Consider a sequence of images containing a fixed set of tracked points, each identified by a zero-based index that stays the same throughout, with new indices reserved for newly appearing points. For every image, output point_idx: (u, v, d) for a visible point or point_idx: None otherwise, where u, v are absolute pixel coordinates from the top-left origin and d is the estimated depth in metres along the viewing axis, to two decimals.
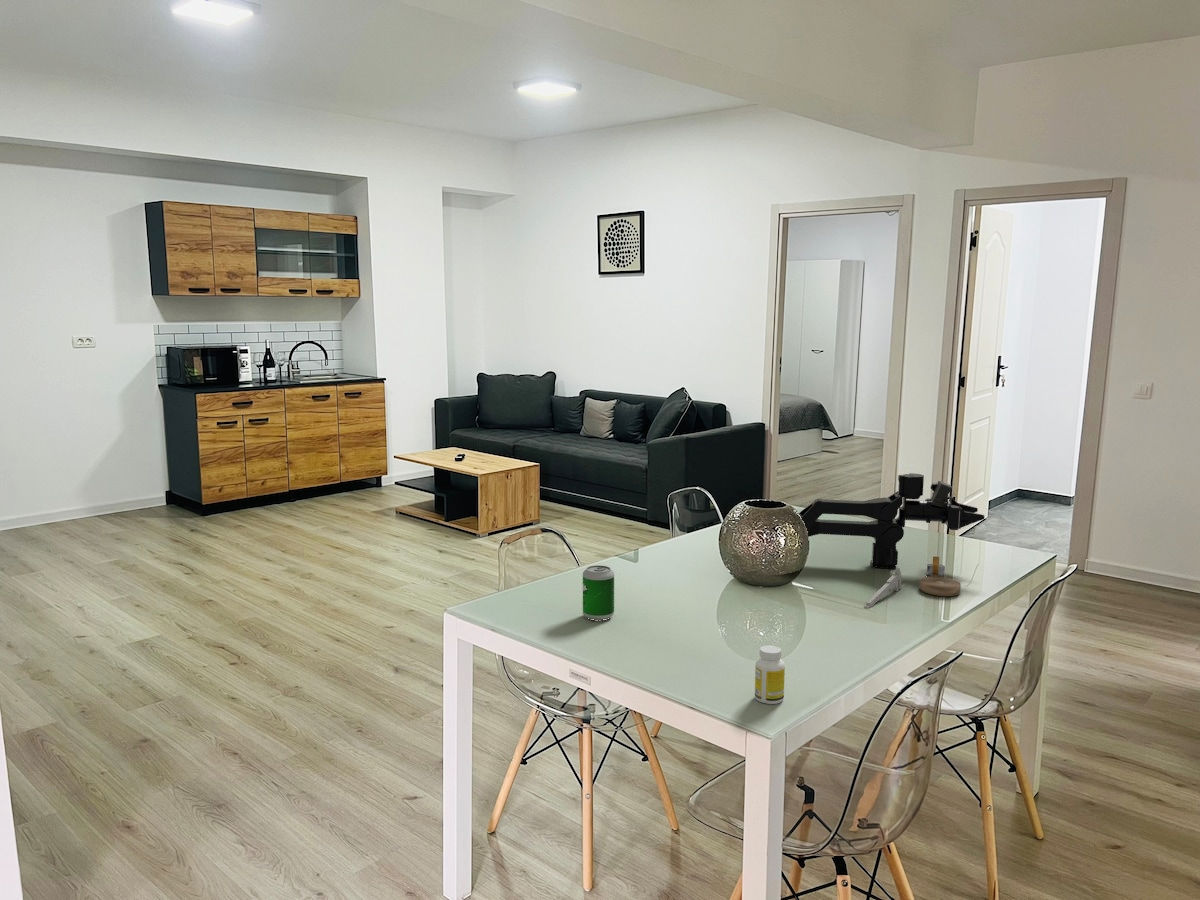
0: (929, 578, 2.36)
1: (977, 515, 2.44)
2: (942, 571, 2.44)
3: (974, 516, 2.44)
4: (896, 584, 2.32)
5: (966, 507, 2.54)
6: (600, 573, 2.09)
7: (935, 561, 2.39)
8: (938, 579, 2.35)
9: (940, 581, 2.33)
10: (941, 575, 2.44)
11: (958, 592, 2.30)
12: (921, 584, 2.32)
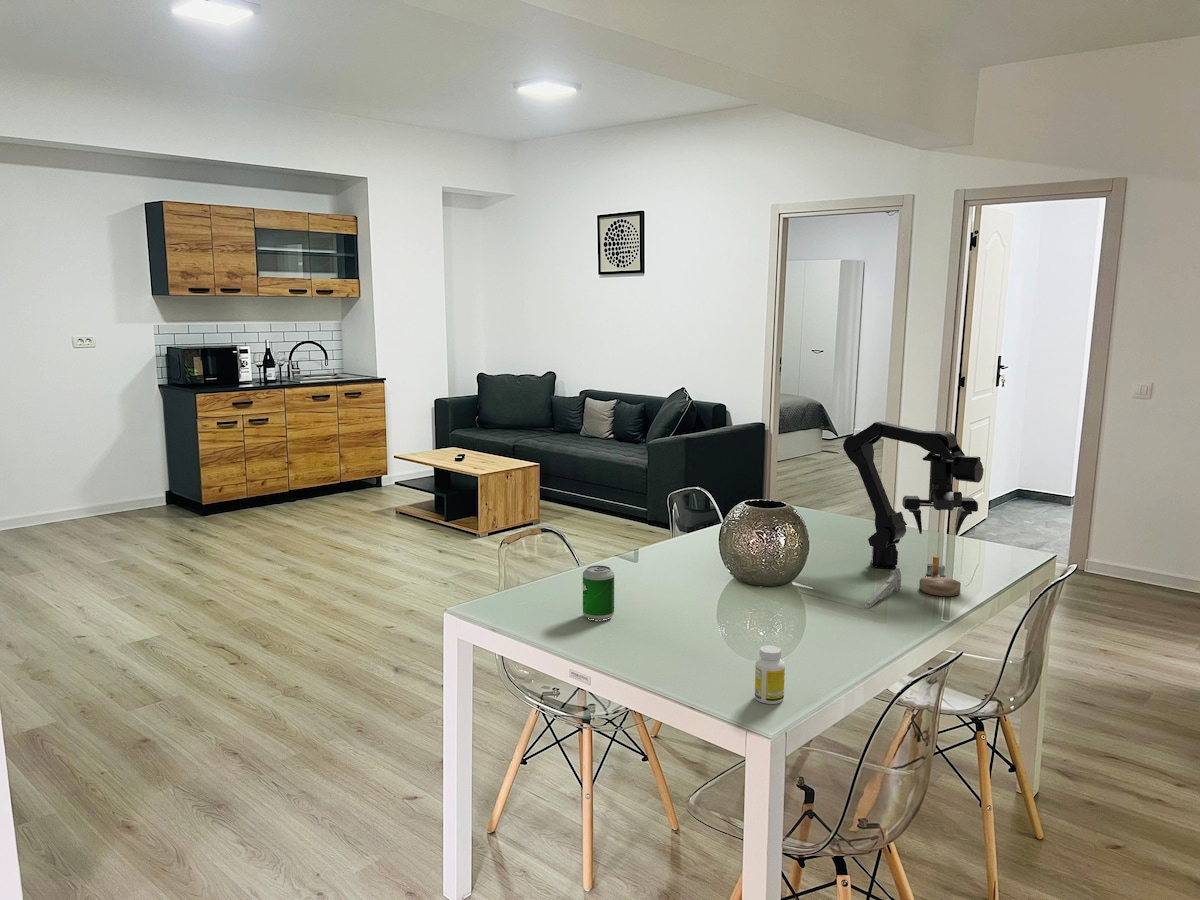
0: (929, 578, 2.36)
1: (918, 527, 2.45)
2: (942, 571, 2.44)
3: (917, 524, 2.45)
4: (896, 584, 2.32)
5: (956, 524, 2.42)
6: (600, 573, 2.09)
7: (935, 561, 2.39)
8: (938, 579, 2.35)
9: (940, 581, 2.33)
10: (941, 575, 2.44)
11: (958, 592, 2.30)
12: (921, 584, 2.32)
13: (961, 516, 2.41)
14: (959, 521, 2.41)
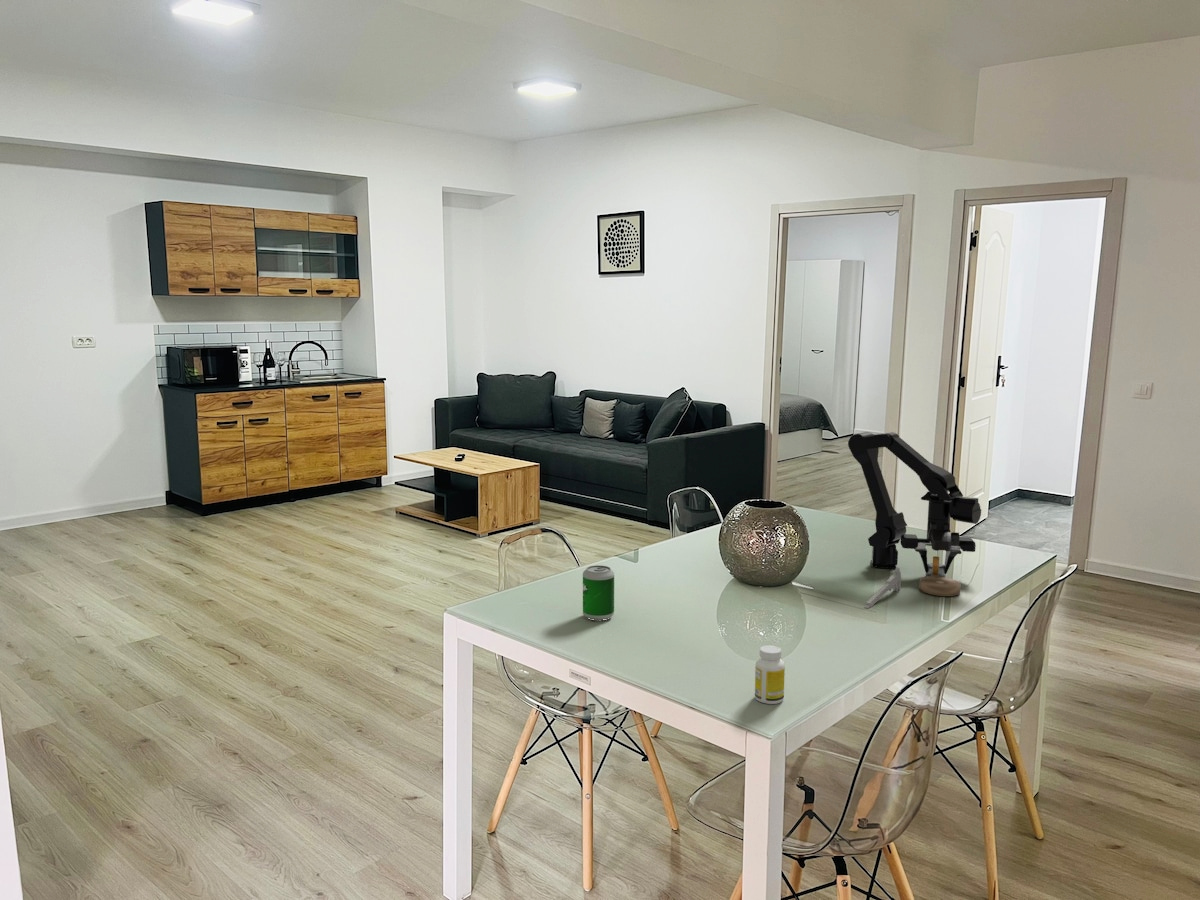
0: (929, 578, 2.36)
1: (924, 566, 2.46)
2: (942, 571, 2.44)
3: (923, 563, 2.46)
4: (896, 584, 2.32)
5: (946, 563, 2.44)
6: (600, 573, 2.09)
7: (935, 561, 2.39)
8: (938, 579, 2.35)
9: (940, 581, 2.33)
10: (941, 575, 2.44)
11: (958, 592, 2.30)
12: (921, 584, 2.32)
13: (950, 555, 2.43)
14: (948, 560, 2.43)
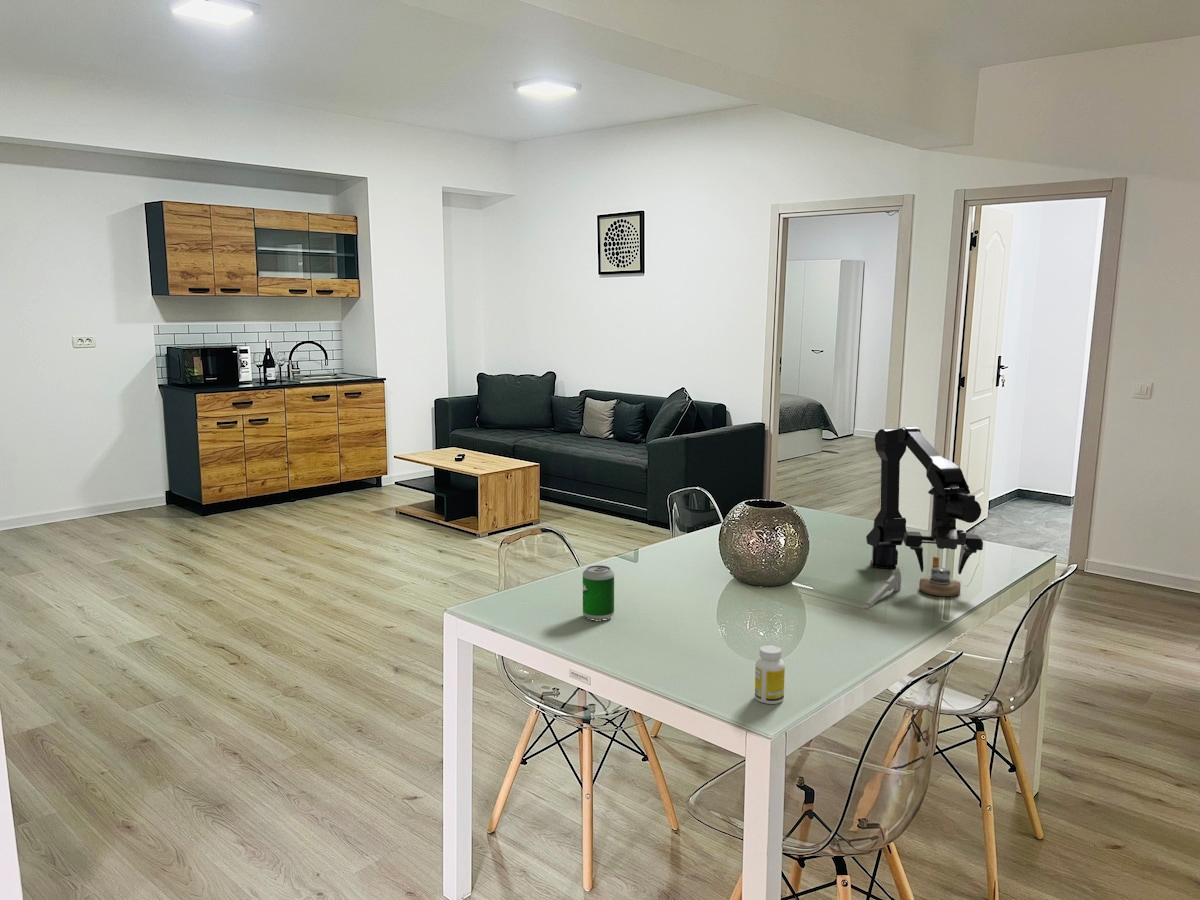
0: (929, 578, 2.36)
1: (919, 564, 2.33)
2: (947, 575, 2.31)
3: (918, 561, 2.33)
4: (896, 584, 2.32)
5: (960, 563, 2.31)
6: (600, 573, 2.09)
7: (935, 561, 2.39)
8: None
9: None
10: (946, 580, 2.31)
11: (958, 592, 2.30)
12: (921, 584, 2.32)
13: (965, 554, 2.29)
14: (963, 559, 2.30)
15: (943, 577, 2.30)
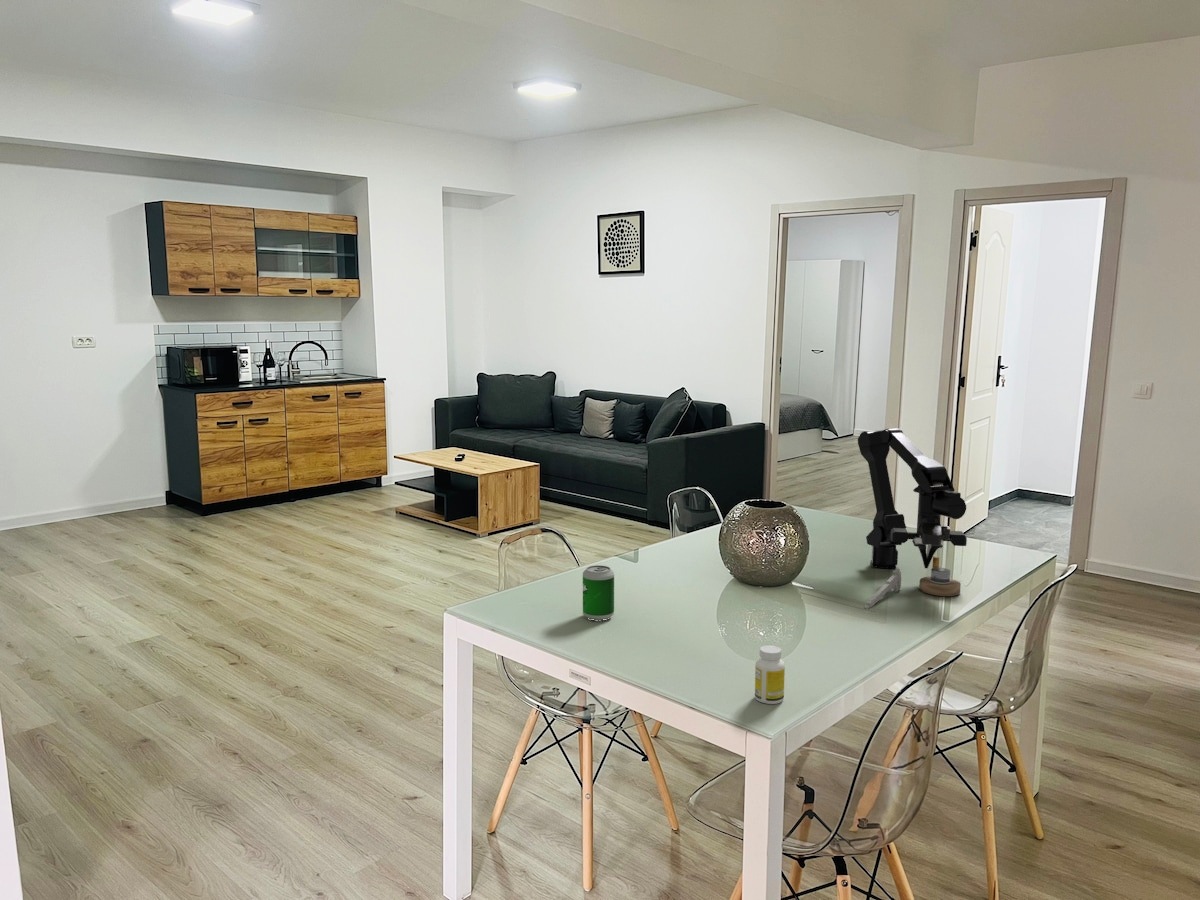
0: (929, 578, 2.36)
1: (923, 561, 2.40)
2: (947, 575, 2.31)
3: (922, 558, 2.40)
4: (896, 584, 2.32)
5: (927, 557, 2.39)
6: (600, 573, 2.09)
7: (935, 561, 2.39)
8: None
9: None
10: (946, 580, 2.31)
11: (958, 592, 2.30)
12: (921, 584, 2.32)
13: (931, 549, 2.37)
14: (929, 554, 2.38)
15: (943, 577, 2.30)
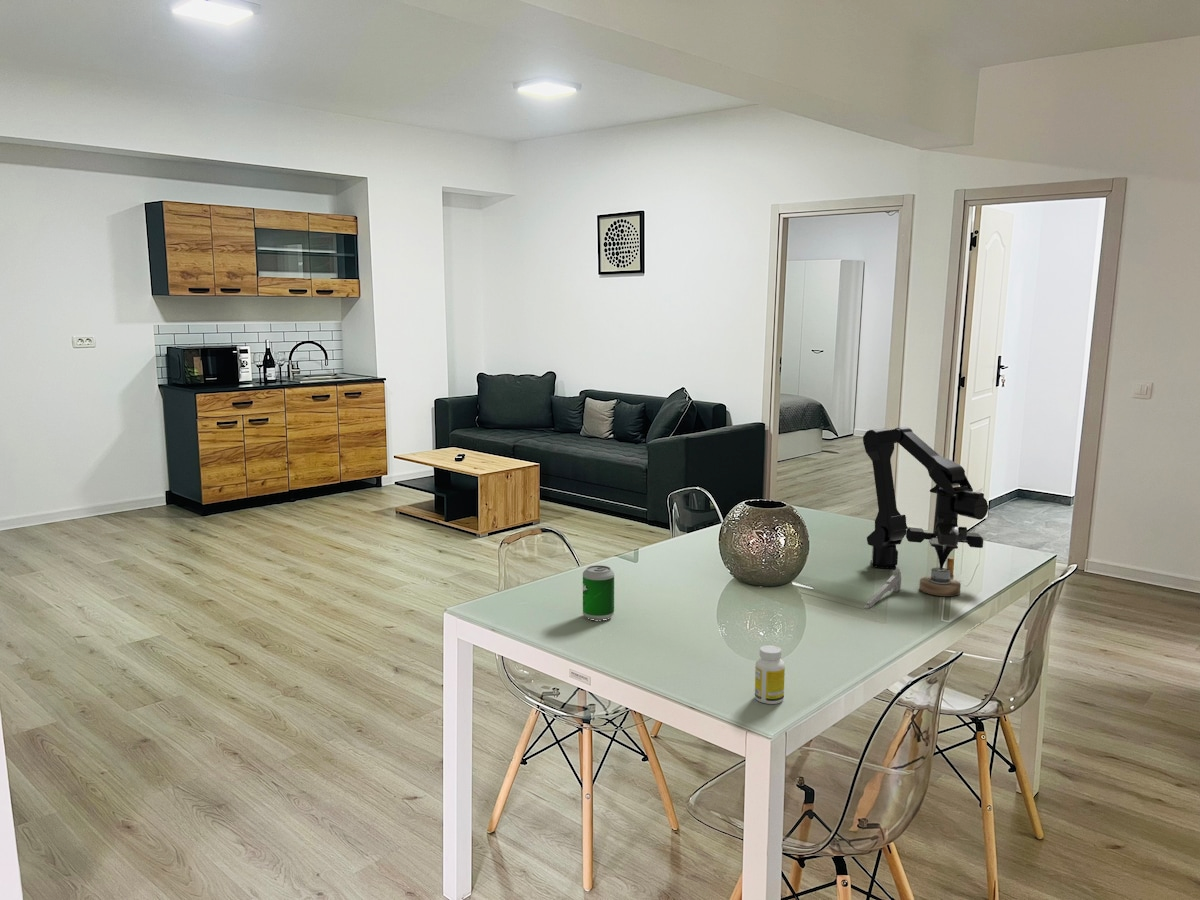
0: None
1: (939, 562, 2.38)
2: (944, 576, 2.30)
3: (938, 558, 2.39)
4: (896, 584, 2.32)
5: None
6: (600, 573, 2.09)
7: (948, 562, 2.38)
8: None
9: None
10: (942, 580, 2.30)
11: (952, 593, 2.28)
12: None
13: (946, 550, 2.36)
14: (944, 555, 2.37)
15: (939, 577, 2.31)
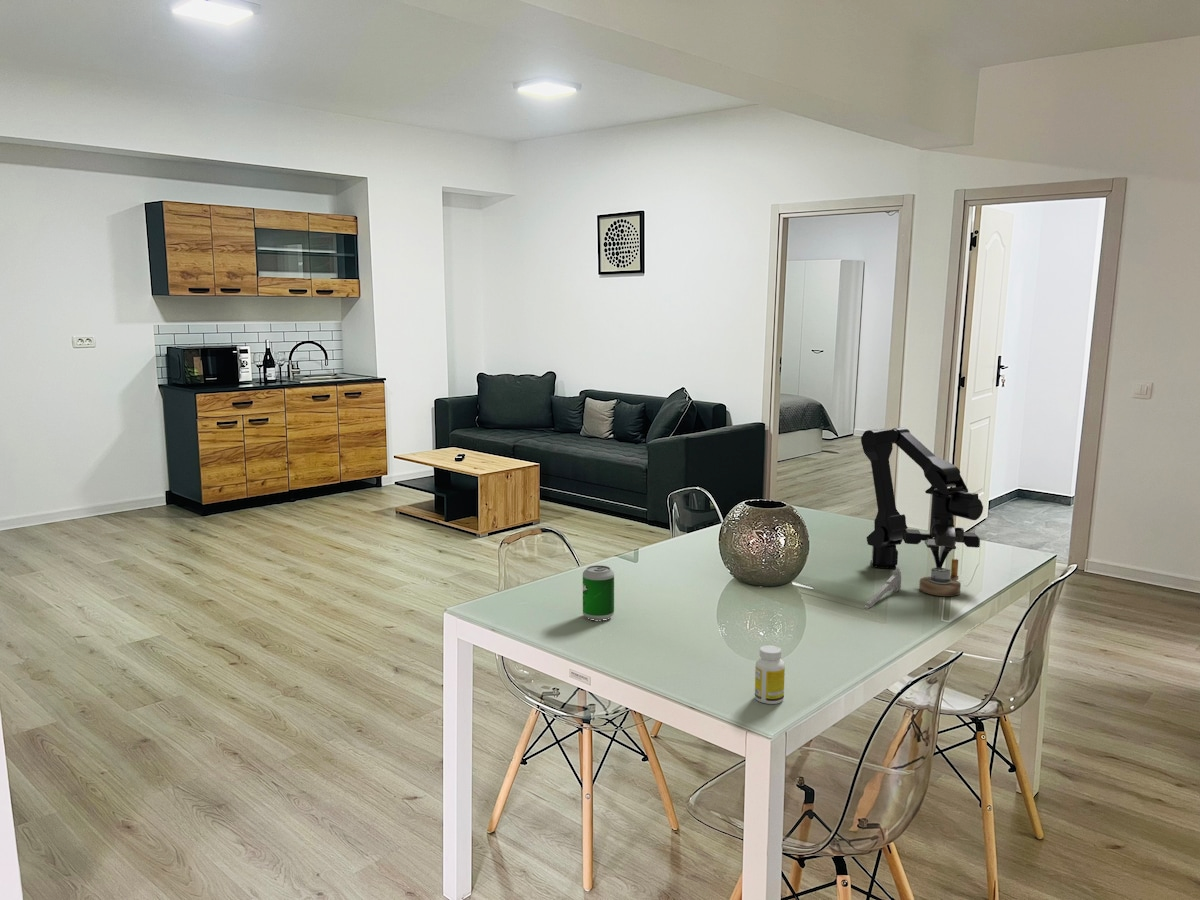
0: None
1: (935, 562, 2.39)
2: (942, 576, 2.30)
3: (934, 559, 2.39)
4: (896, 584, 2.32)
5: (940, 559, 2.39)
6: (600, 573, 2.09)
7: (952, 563, 2.37)
8: None
9: None
10: (941, 580, 2.31)
11: (950, 594, 2.28)
12: None
13: (945, 551, 2.37)
14: (943, 555, 2.38)
15: (937, 576, 2.31)
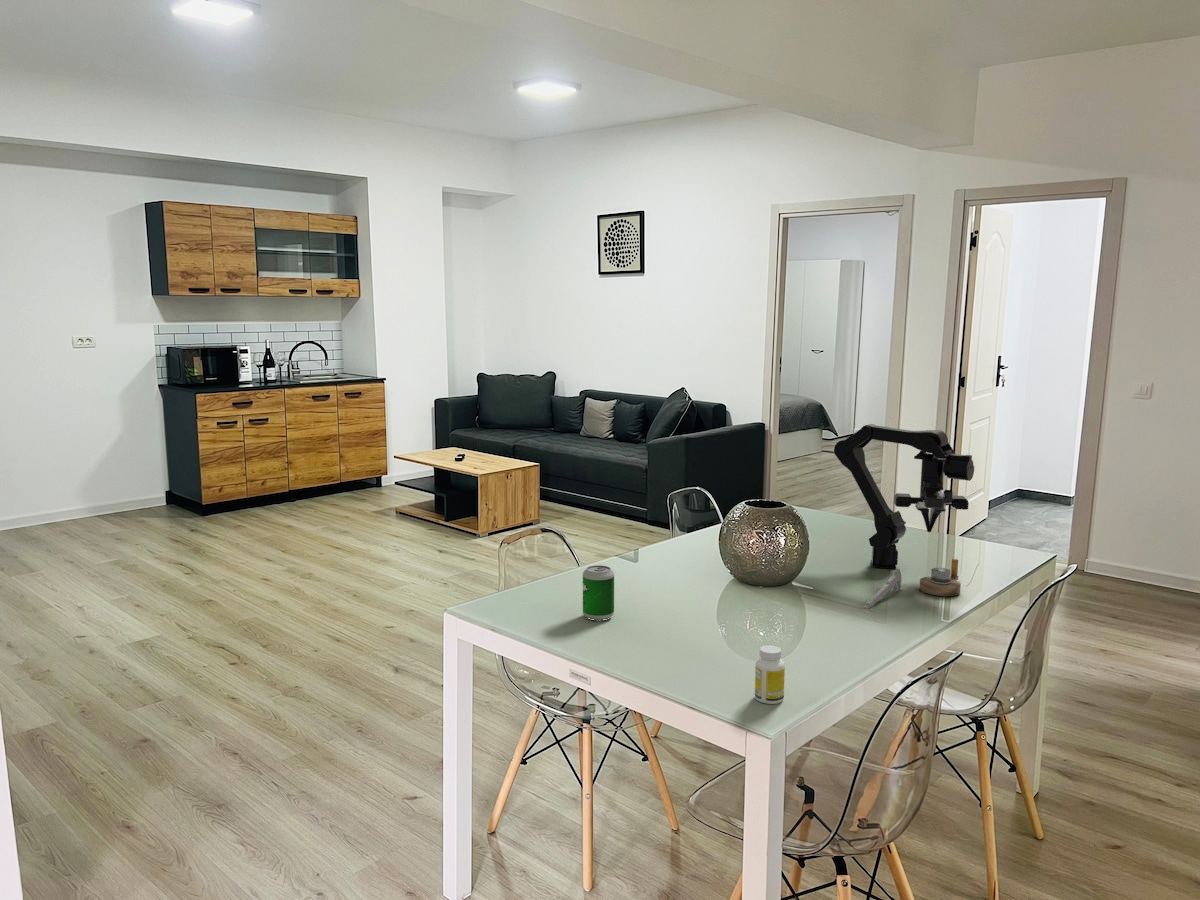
0: None
1: (926, 525, 2.46)
2: (942, 576, 2.30)
3: (925, 522, 2.47)
4: (896, 585, 2.32)
5: (930, 521, 2.46)
6: (600, 573, 2.09)
7: (952, 563, 2.37)
8: None
9: None
10: (941, 580, 2.31)
11: (950, 594, 2.28)
12: None
13: (935, 513, 2.44)
14: (933, 518, 2.45)
15: (937, 576, 2.31)
